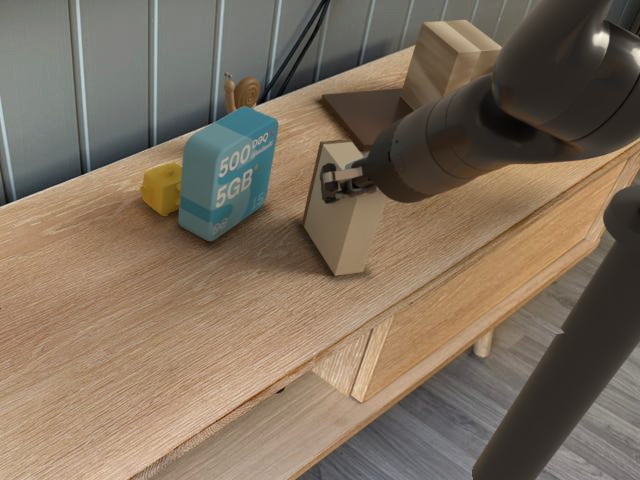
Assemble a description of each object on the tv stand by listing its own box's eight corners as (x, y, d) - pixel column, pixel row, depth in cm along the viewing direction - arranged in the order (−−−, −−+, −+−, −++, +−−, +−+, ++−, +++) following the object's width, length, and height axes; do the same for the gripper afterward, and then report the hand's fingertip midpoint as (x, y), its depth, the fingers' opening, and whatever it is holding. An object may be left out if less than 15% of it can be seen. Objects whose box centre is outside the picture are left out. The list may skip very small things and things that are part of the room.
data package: (206, 247, 82) (216, 154, 74) (176, 230, 84) (183, 138, 76) (265, 204, 89) (281, 115, 80) (236, 190, 91) (249, 101, 82)
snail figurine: (203, 152, 97) (211, 65, 88) (236, 137, 100) (247, 52, 91) (231, 169, 94) (242, 81, 85) (264, 154, 97) (278, 68, 88)
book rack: (437, 91, 112) (464, 12, 104) (488, 139, 103) (523, 56, 94) (320, 100, 109) (338, 19, 100) (362, 151, 99) (385, 66, 90)
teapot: (156, 231, 84) (157, 193, 80) (128, 207, 87) (129, 170, 83) (208, 209, 87) (212, 173, 84) (180, 187, 91) (182, 151, 87)
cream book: (328, 220, 87) (349, 138, 79) (363, 272, 80) (390, 188, 72) (301, 223, 86) (319, 141, 78) (334, 276, 80) (358, 192, 72)
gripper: (499, 101, 63) (397, 152, 80) (352, 113, 60) (279, 164, 77) (508, 185, 63) (405, 219, 80) (363, 201, 60) (287, 233, 77)
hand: (343, 192), depth 78 cm, fingers closed on cream book, 3 cm apart
